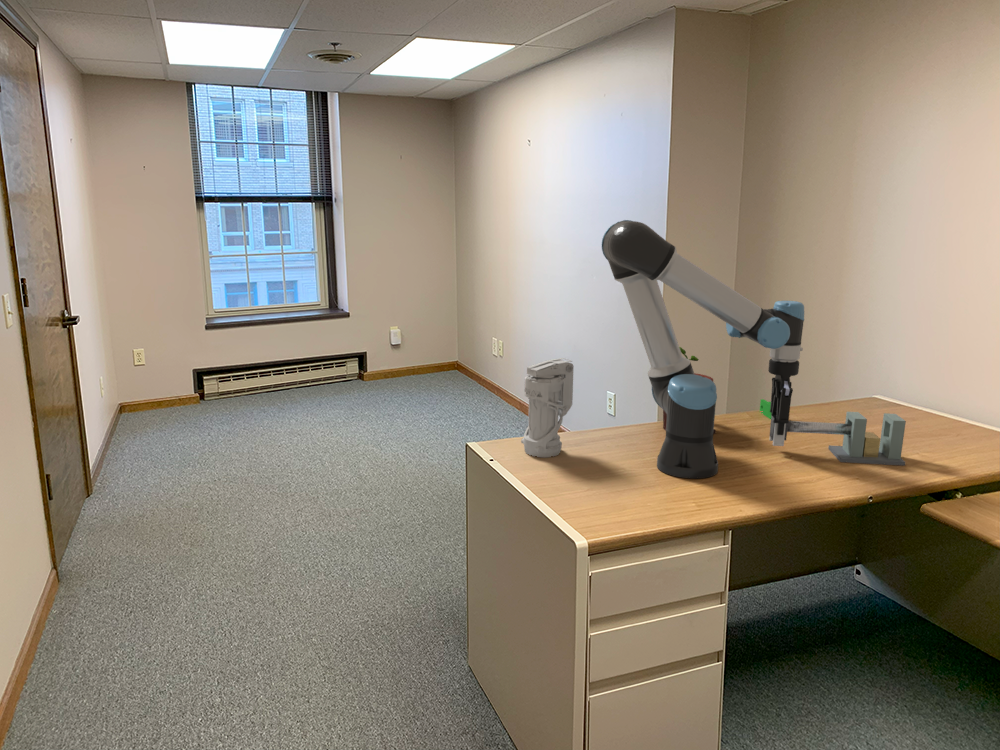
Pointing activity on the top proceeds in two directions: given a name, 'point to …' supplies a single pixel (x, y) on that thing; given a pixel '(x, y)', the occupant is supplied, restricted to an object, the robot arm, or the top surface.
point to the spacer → (871, 445)
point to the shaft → (813, 427)
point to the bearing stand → (855, 442)
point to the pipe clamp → (765, 408)
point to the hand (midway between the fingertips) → (776, 442)
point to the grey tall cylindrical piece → (547, 405)
